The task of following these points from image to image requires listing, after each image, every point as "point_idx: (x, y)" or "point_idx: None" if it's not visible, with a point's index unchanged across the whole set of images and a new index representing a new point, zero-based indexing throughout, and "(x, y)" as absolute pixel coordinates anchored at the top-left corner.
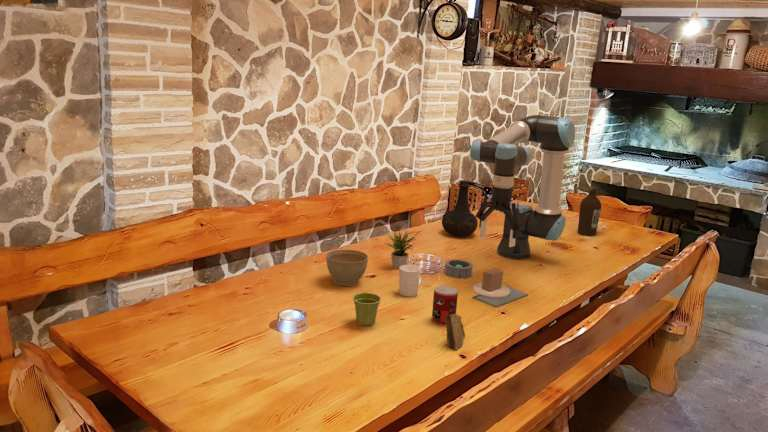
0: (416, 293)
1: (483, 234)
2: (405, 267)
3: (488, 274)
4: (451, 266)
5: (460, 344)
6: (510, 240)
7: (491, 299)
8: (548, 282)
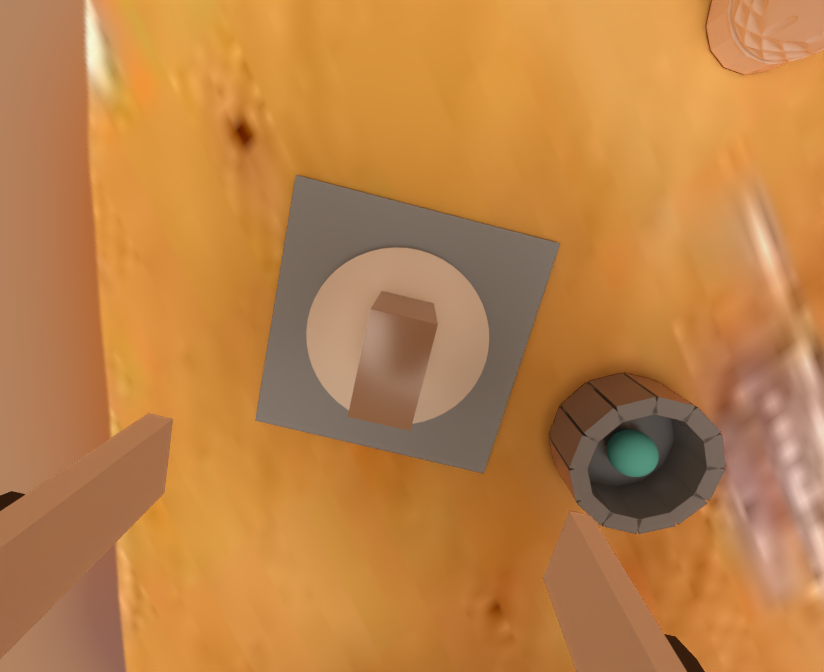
0: (712, 19)
1: (568, 569)
2: None
3: (397, 313)
4: (670, 406)
5: None
6: (97, 458)
7: (350, 238)
8: (262, 601)
